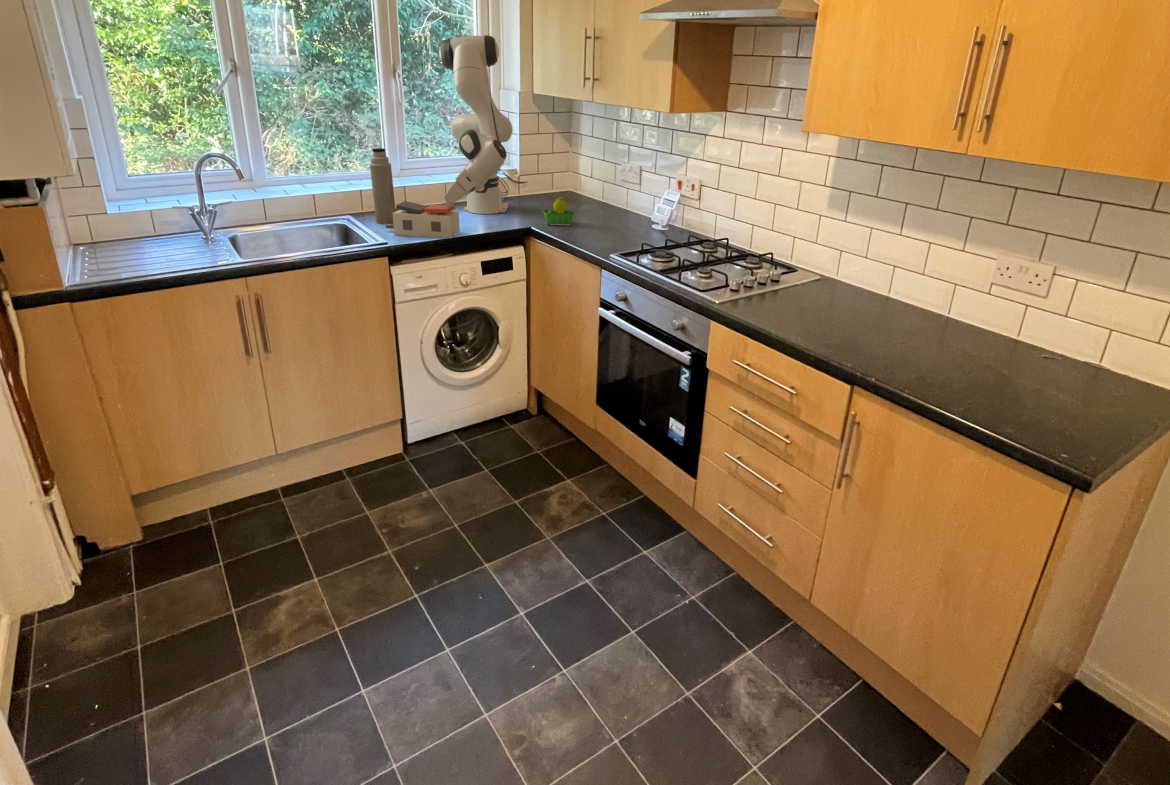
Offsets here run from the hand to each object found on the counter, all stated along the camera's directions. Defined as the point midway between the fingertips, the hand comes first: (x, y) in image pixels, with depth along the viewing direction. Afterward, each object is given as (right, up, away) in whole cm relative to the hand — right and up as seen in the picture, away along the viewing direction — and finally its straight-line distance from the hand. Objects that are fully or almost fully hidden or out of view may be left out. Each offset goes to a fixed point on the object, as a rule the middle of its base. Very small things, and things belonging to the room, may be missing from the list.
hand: (447, 205), depth 262 cm
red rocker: (-3, -2, +2) cm, 4 cm away
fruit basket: (+40, -2, +24) cm, 47 cm away
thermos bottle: (-29, -1, +23) cm, 37 cm away
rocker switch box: (-11, -9, +6) cm, 16 cm away
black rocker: (-14, -1, +3) cm, 15 cm away
